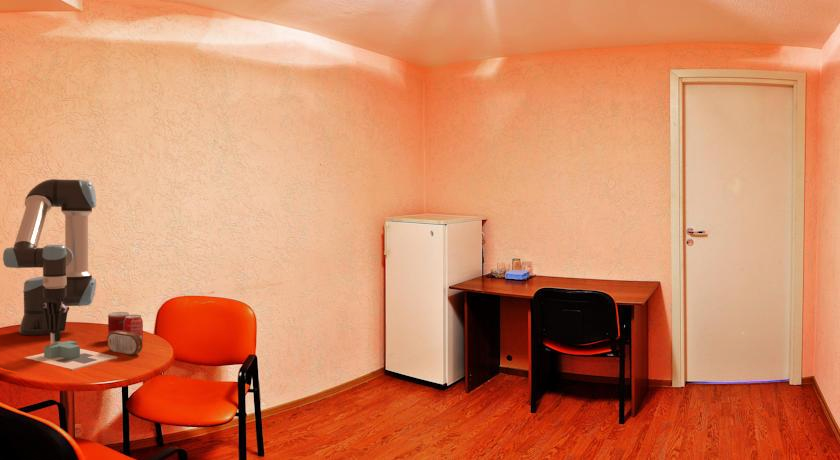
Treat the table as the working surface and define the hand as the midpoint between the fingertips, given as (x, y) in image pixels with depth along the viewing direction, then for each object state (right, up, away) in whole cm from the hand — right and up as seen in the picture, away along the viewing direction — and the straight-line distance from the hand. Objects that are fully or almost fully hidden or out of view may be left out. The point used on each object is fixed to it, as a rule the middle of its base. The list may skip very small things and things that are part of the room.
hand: (55, 349), depth 232 cm
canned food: (+12, -1, +24) cm, 27 cm away
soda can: (+22, -2, +16) cm, 27 cm away
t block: (+5, -2, -2) cm, 6 cm away
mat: (+8, -3, -3) cm, 9 cm away
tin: (+23, -3, +5) cm, 24 cm away
